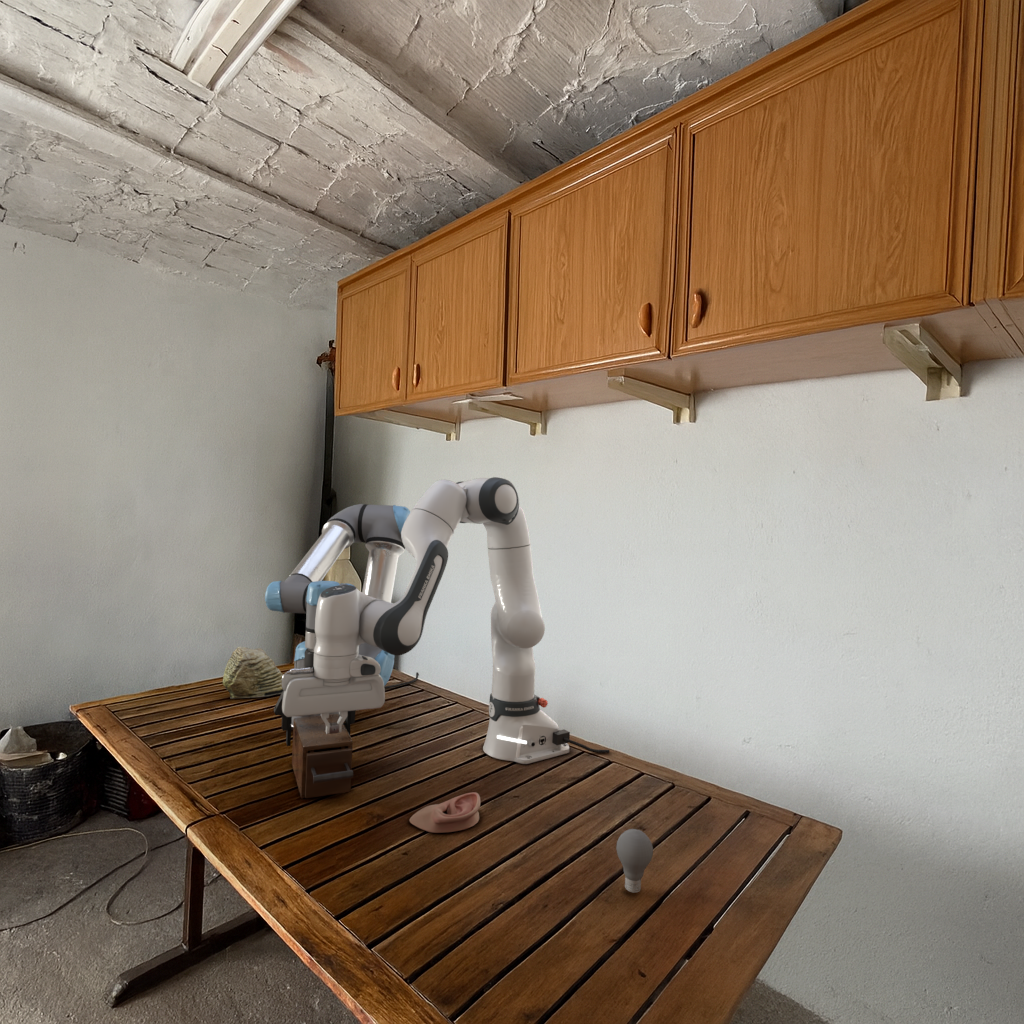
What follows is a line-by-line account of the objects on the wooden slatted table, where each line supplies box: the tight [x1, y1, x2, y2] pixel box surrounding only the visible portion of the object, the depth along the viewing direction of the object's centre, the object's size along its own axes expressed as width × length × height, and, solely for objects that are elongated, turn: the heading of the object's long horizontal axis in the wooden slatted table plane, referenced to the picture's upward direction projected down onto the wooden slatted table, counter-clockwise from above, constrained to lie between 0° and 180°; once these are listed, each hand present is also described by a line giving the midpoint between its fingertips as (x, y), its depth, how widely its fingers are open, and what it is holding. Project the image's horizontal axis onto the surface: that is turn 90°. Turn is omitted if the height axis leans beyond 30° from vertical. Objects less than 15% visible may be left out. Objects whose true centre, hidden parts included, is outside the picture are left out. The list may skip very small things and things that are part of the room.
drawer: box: [304, 746, 354, 799], centre depth 138 cm, size 22×9×9 cm, turn 25°
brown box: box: [291, 714, 353, 799], centre depth 143 cm, size 18×10×11 cm, turn 25°
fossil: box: [222, 646, 284, 699], centre depth 198 cm, size 9×18×15 cm, turn 132°
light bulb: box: [615, 828, 654, 894], centre depth 106 cm, size 6×6×10 cm
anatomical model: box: [409, 791, 481, 834], centre depth 126 cm, size 13×4×12 cm
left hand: (318, 740), depth 147 cm, fingers open, 12 cm apart
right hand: (333, 732), depth 130 cm, fingers closed
